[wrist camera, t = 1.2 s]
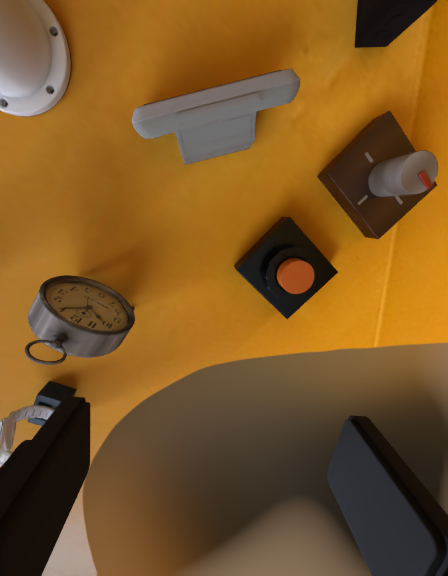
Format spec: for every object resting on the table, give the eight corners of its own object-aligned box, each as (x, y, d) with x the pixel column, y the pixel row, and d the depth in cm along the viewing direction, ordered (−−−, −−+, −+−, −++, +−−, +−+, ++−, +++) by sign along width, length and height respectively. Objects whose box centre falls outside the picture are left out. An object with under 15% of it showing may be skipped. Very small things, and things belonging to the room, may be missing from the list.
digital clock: (271, 82, 31) (306, 19, 21) (270, 162, 34) (300, 140, 23) (139, 83, 30) (106, 16, 20) (148, 166, 32) (124, 145, 22)
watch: (36, 376, 40) (-22, 435, 29) (87, 392, 41) (48, 454, 31) (27, 403, 41) (-33, 469, 30) (76, 418, 43) (36, 485, 32)
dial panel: (317, 176, 35) (327, 172, 32) (373, 118, 33) (390, 109, 30) (365, 237, 38) (379, 239, 35) (419, 187, 36) (438, 184, 33)
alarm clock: (145, 304, 38) (107, 367, 22) (128, 331, 39) (79, 409, 23) (77, 264, 35) (-20, 304, 20) (60, 294, 36) (-45, 355, 21)
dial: (361, 179, 32) (394, 172, 27) (388, 152, 32) (428, 139, 26) (380, 204, 33) (415, 202, 28) (406, 179, 33) (448, 172, 27)
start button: (269, 274, 33) (273, 278, 31) (293, 250, 33) (299, 253, 31) (290, 295, 34) (296, 300, 33) (314, 273, 34) (321, 276, 32)
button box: (233, 265, 37) (238, 273, 32) (282, 216, 36) (294, 216, 31) (281, 311, 40) (291, 325, 35) (328, 267, 39) (346, 275, 34)
